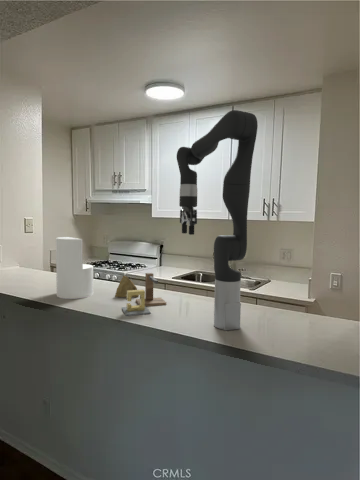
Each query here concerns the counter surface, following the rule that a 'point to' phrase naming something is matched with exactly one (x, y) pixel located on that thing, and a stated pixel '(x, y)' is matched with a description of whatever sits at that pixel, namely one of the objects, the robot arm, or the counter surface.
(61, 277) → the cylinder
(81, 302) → the counter surface
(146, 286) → the hook stand
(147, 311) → the slate mat
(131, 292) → the c link
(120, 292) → the rock
